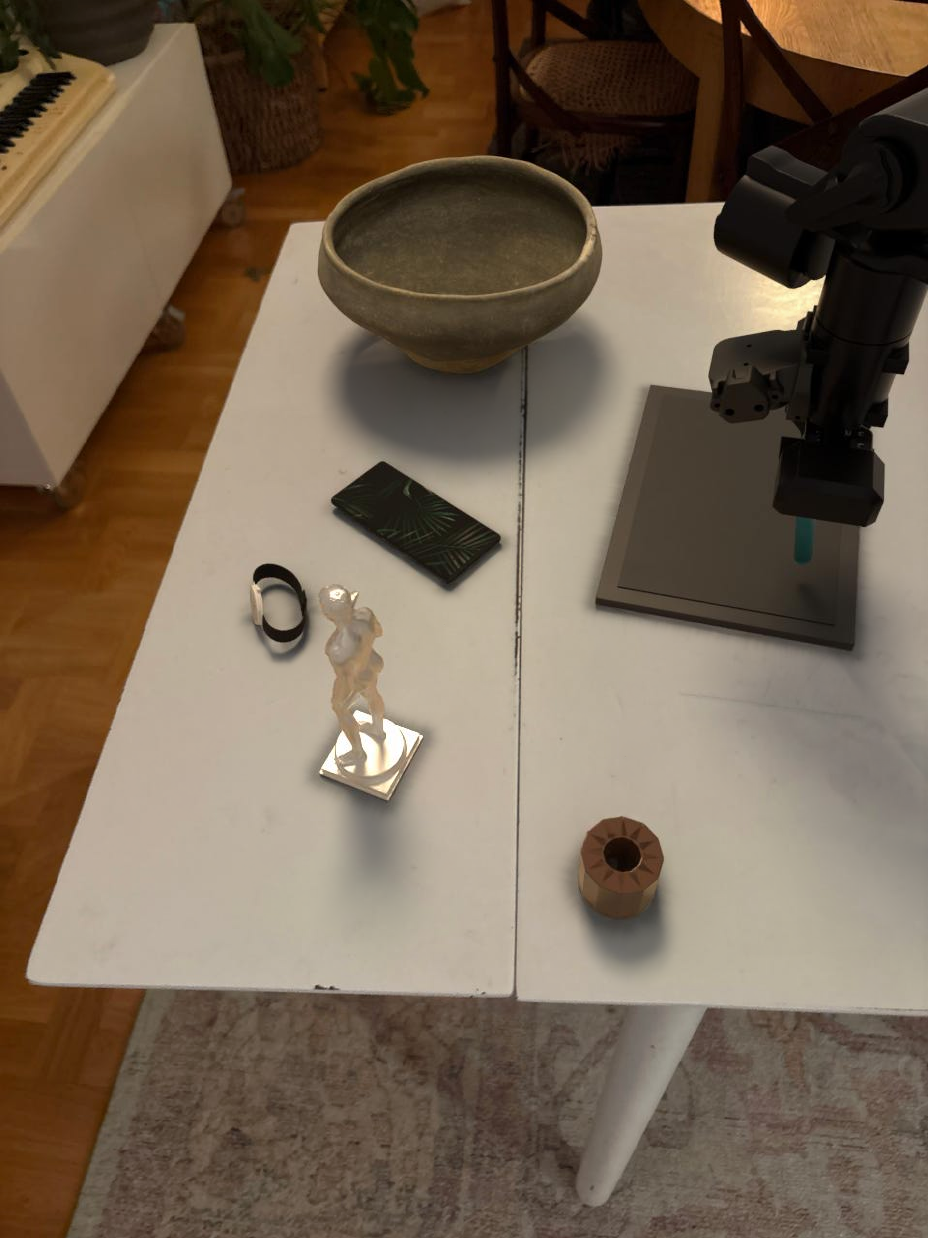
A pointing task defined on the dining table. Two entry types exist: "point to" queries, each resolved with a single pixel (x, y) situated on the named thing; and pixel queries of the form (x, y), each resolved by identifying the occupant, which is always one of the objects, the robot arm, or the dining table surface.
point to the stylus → (804, 539)
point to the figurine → (367, 743)
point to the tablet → (723, 531)
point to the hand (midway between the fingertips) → (804, 501)
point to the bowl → (461, 258)
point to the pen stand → (619, 867)
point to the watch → (257, 606)
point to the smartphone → (416, 521)
